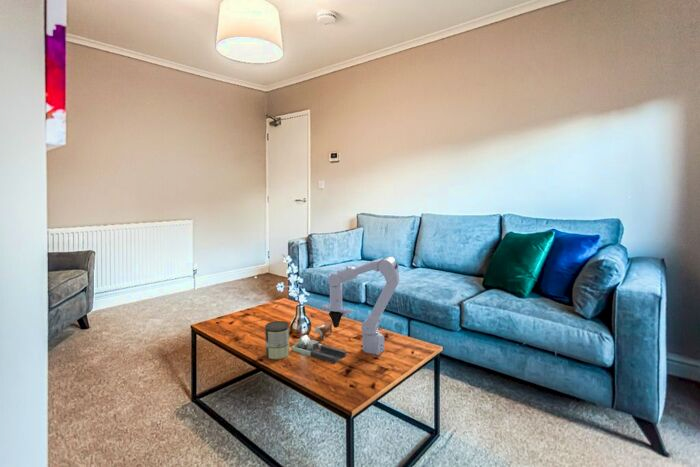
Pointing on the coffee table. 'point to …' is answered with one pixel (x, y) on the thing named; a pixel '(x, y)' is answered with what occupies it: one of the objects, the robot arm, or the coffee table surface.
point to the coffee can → (277, 339)
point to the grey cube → (312, 345)
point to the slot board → (329, 354)
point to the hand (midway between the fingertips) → (336, 326)
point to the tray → (295, 348)
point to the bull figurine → (324, 329)
